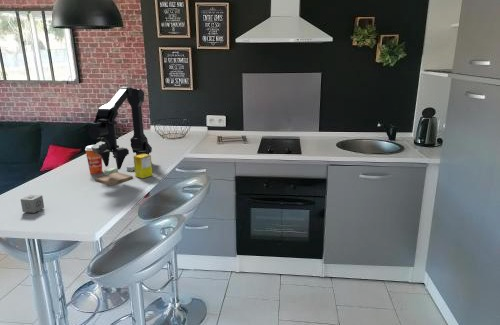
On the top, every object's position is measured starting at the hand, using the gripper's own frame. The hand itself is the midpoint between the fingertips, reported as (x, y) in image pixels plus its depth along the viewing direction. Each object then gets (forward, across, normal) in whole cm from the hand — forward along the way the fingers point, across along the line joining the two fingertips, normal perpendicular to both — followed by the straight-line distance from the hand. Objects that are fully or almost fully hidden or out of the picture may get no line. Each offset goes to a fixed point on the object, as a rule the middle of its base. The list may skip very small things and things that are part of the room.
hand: (112, 167), depth 169 cm
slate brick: (+6, -5, +15) cm, 17 cm away
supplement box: (+6, +8, +11) cm, 15 cm away
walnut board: (+6, 0, 0) cm, 6 cm away
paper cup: (+6, -17, +2) cm, 18 cm away
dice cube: (+6, +6, -39) cm, 40 cm away
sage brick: (+6, -9, +5) cm, 12 cm away
